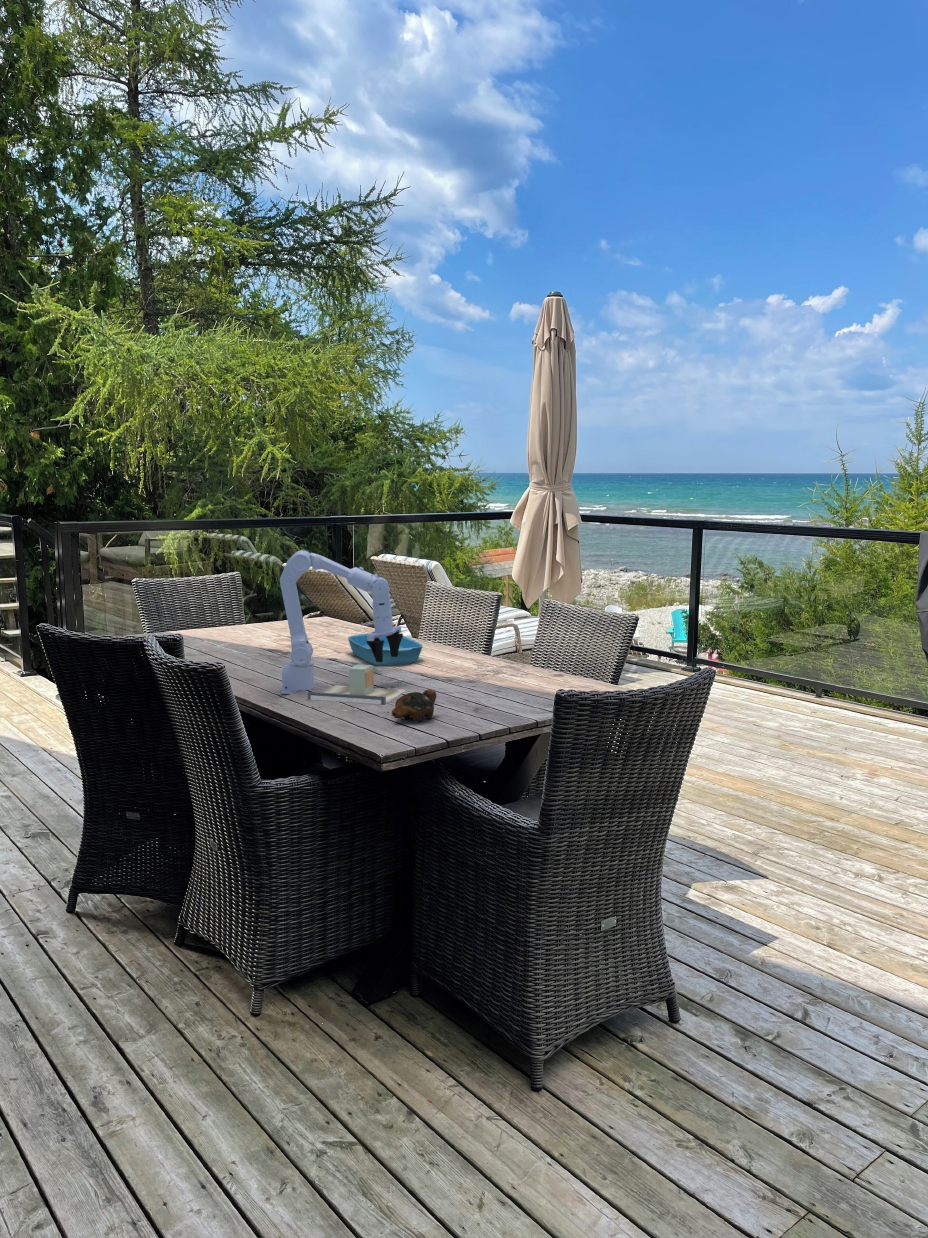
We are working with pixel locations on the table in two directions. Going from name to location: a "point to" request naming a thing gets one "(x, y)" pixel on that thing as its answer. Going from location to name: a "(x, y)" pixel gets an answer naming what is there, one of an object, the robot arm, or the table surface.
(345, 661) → the table surface
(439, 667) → the table surface
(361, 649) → the casserole dish
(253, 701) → the table surface
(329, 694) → the rail
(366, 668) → the carton
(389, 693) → the shelf board
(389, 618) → the robot arm
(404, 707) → the decorative turtle
